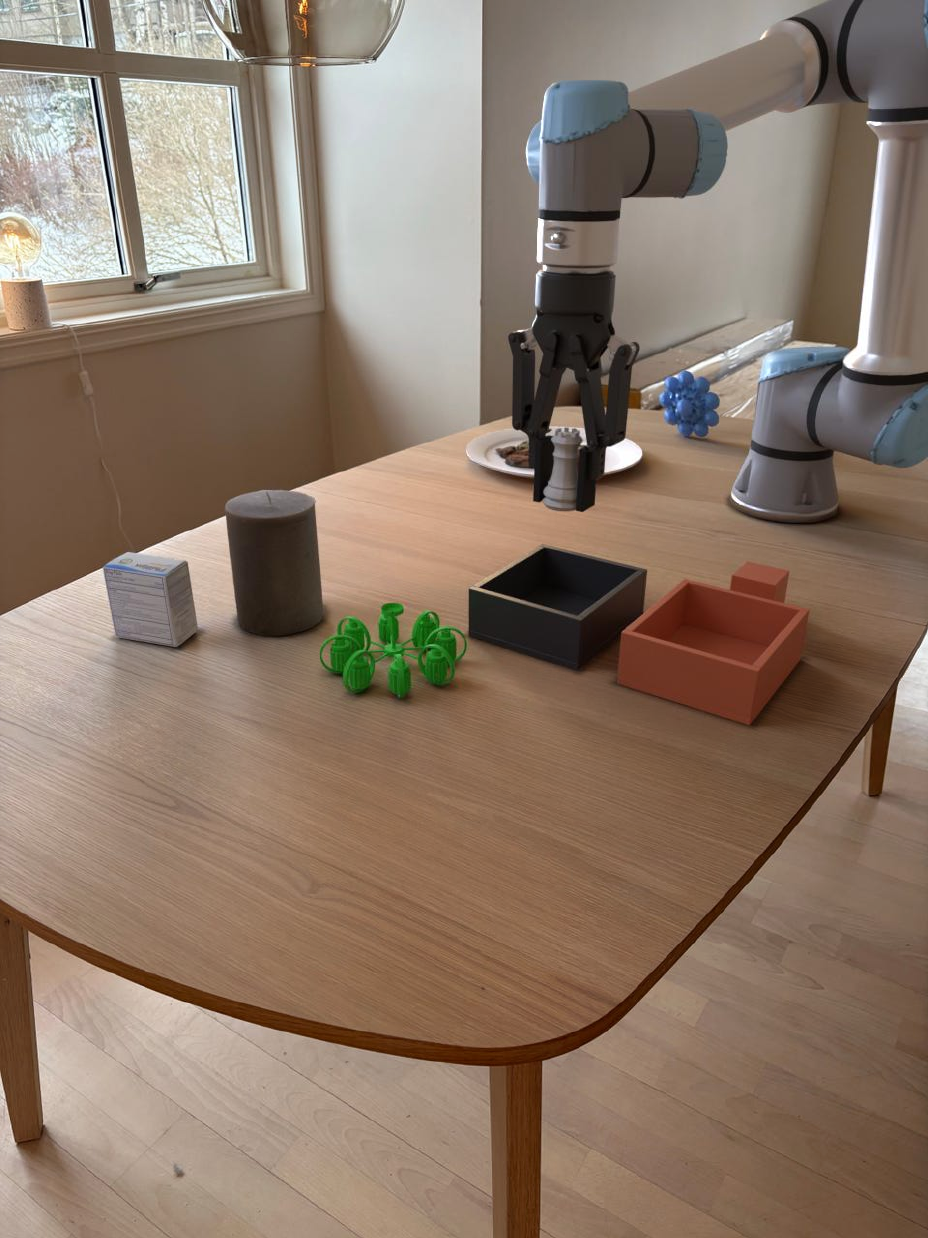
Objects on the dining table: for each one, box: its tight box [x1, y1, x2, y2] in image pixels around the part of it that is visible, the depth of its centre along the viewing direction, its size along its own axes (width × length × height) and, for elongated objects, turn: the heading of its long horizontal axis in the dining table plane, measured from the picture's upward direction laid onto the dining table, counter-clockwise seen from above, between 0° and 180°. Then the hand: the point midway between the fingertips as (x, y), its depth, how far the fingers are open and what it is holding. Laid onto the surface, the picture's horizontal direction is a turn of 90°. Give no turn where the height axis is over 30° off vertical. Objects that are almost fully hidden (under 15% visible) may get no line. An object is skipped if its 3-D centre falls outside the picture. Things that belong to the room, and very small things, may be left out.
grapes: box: [658, 369, 721, 438], centre depth 173 cm, size 12×7×12 cm, turn 59°
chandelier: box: [319, 602, 468, 699], centre depth 96 cm, size 15×15×7 cm
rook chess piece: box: [541, 426, 583, 512], centre depth 98 cm, size 4×4×8 cm
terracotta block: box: [729, 560, 790, 603], centre depth 109 cm, size 5×5×5 cm
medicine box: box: [102, 551, 199, 648], centre depth 102 cm, size 8×4×9 cm, turn 71°
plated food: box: [465, 425, 643, 480], centre depth 163 cm, size 30×30×3 cm
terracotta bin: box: [616, 578, 811, 726], centre depth 96 cm, size 16×14×6 cm
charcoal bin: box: [467, 543, 648, 672], centre depth 105 cm, size 16×14×6 cm
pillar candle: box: [224, 489, 324, 637], centre depth 105 cm, size 10×10×15 cm
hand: (563, 502), depth 100 cm, fingers closed on rook chess piece, 4 cm apart
